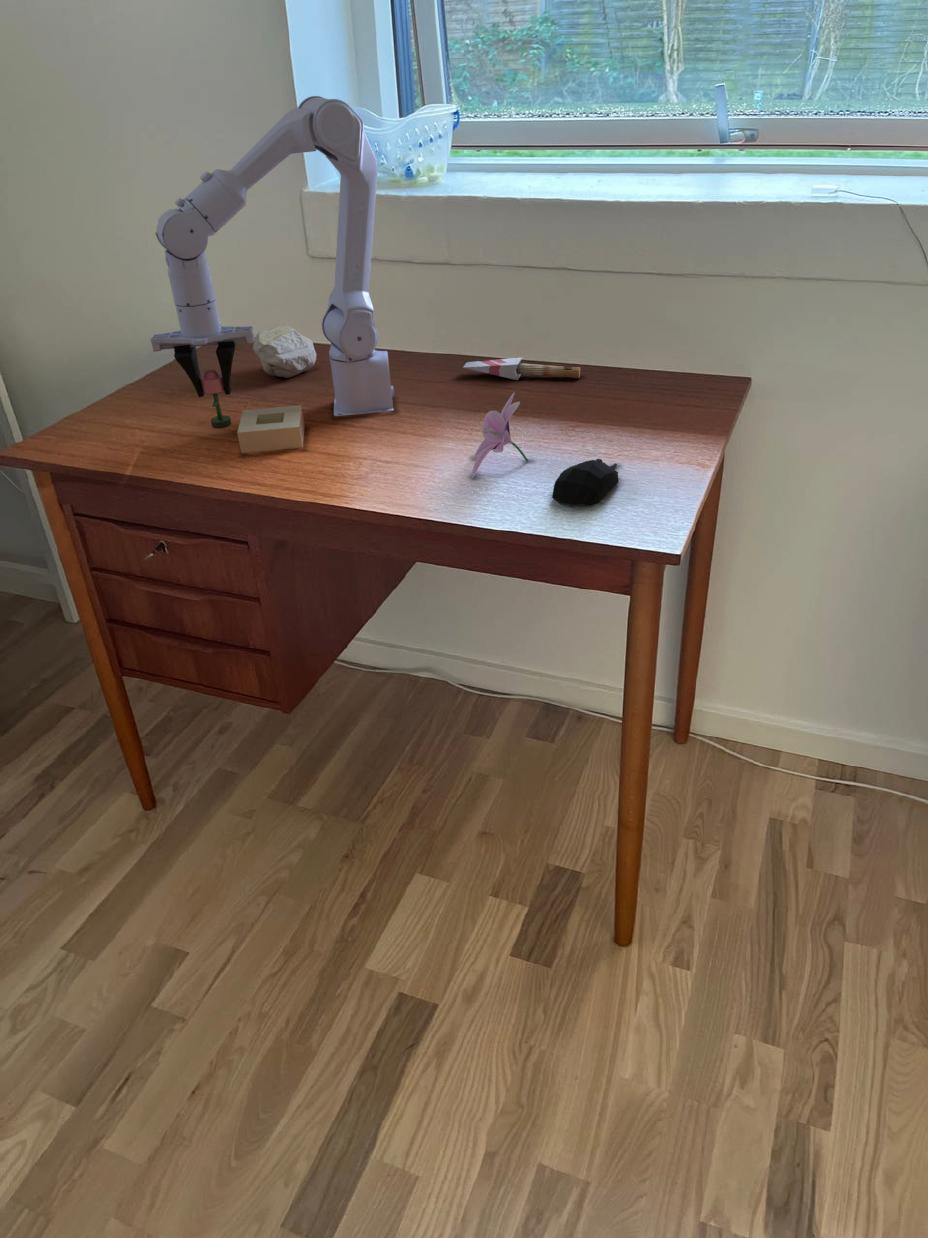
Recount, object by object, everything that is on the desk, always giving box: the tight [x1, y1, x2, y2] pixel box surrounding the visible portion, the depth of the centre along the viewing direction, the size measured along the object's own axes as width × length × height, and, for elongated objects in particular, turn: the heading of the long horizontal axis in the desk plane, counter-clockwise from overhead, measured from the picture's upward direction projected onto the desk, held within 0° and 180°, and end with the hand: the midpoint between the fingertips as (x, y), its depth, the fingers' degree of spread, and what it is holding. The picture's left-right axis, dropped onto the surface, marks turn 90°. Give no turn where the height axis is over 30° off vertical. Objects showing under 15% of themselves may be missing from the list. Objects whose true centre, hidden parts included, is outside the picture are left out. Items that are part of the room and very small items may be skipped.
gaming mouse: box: [551, 458, 619, 508], centre depth 120 cm, size 6×15×4 cm, turn 147°
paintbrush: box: [462, 356, 581, 381], centre depth 158 cm, size 4×3×20 cm
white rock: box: [252, 324, 317, 379], centre depth 165 cm, size 12×8×10 cm
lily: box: [471, 391, 529, 479], centre depth 127 cm, size 12×12×10 cm
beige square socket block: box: [236, 404, 306, 454], centre depth 139 cm, size 9×9×4 cm
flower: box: [200, 368, 232, 430], centre depth 139 cm, size 3×4×9 cm
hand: (214, 393), depth 139 cm, fingers closed on flower, 3 cm apart
